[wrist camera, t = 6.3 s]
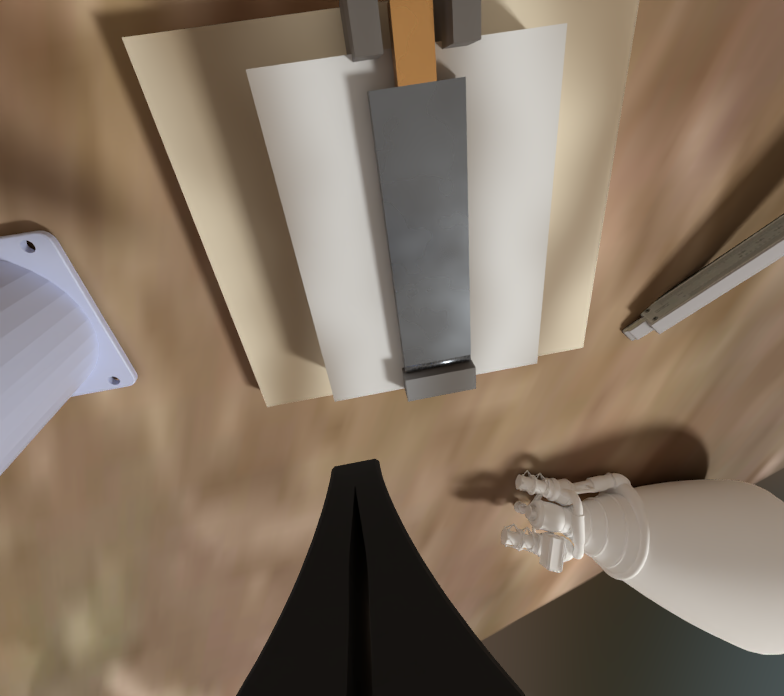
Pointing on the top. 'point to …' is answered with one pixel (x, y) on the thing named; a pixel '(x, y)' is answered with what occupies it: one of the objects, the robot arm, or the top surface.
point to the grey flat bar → (424, 192)
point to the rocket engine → (672, 547)
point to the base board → (252, 195)
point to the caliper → (712, 280)
